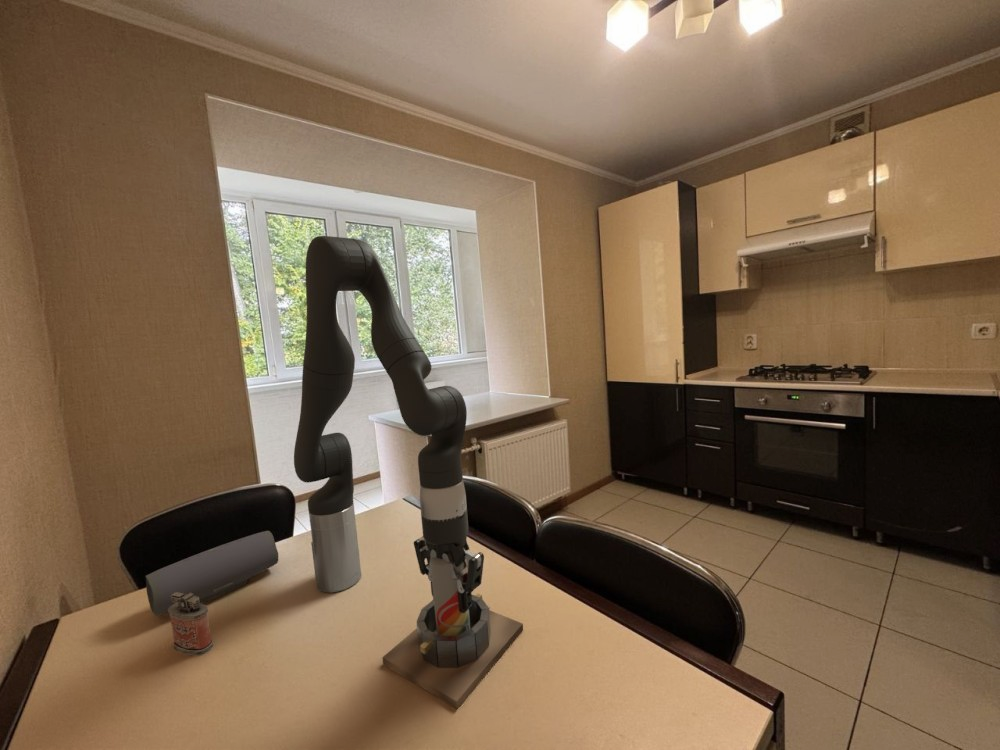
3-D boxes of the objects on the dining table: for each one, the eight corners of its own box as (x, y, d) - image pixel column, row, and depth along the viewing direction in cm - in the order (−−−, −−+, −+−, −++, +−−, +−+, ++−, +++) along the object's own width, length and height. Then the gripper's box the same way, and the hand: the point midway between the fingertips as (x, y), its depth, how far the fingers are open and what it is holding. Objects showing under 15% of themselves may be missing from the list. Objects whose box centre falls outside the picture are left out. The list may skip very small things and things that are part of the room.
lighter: (218, 644, 75) (210, 592, 74) (199, 658, 72) (191, 604, 71) (187, 636, 78) (180, 586, 77) (168, 649, 74) (160, 597, 74)
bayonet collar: (398, 655, 68) (395, 630, 67) (457, 603, 80) (455, 582, 79) (453, 686, 61) (450, 658, 60) (508, 625, 73) (506, 601, 72)
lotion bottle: (466, 654, 67) (455, 536, 65) (433, 651, 68) (421, 535, 66) (475, 629, 72) (465, 520, 71) (444, 626, 74) (434, 519, 72)
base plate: (383, 664, 68) (382, 656, 67) (456, 600, 83) (456, 593, 83) (457, 709, 58) (456, 699, 58) (524, 627, 74) (524, 620, 74)
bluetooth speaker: (266, 562, 103) (261, 523, 102) (281, 574, 97) (276, 534, 96) (149, 611, 86) (142, 566, 85) (158, 630, 80) (150, 582, 79)
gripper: (396, 508, 69) (406, 603, 71) (462, 526, 61) (471, 633, 62) (428, 492, 75) (436, 580, 77) (492, 507, 67) (499, 605, 69)
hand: (452, 603), depth 70 cm, fingers closed on lotion bottle, 5 cm apart
